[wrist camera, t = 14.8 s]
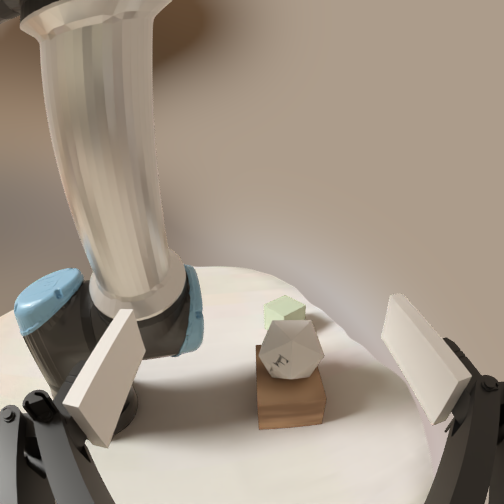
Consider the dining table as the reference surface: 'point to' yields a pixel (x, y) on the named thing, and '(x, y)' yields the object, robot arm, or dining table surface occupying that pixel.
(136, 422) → the dining table surface
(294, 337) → the die
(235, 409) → the dining table surface
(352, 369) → the dining table surface
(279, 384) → the plinth
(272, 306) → the green cube
